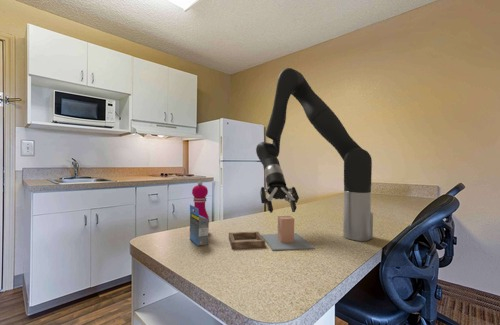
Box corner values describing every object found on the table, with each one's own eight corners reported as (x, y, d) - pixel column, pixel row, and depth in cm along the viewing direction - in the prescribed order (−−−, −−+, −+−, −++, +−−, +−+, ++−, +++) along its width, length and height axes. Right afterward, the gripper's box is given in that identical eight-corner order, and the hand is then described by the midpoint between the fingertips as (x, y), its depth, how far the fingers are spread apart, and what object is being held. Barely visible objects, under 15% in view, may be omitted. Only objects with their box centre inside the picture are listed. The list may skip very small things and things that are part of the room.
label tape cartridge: (209, 244, 82) (209, 207, 82) (197, 246, 80) (198, 208, 79) (199, 237, 89) (199, 203, 89) (188, 239, 87) (189, 204, 87)
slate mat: (296, 234, 95) (296, 233, 95) (314, 248, 79) (314, 247, 79) (261, 235, 92) (261, 234, 92) (272, 250, 77) (272, 249, 77)
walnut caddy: (258, 236, 91) (258, 231, 91) (265, 247, 80) (265, 241, 80) (228, 238, 89) (228, 232, 89) (231, 248, 78) (231, 242, 78)
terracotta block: (289, 238, 88) (289, 215, 88) (294, 242, 84) (294, 218, 84) (277, 238, 88) (277, 216, 88) (281, 242, 83) (281, 219, 83)
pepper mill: (212, 231, 96) (213, 181, 96) (199, 236, 90) (200, 182, 90) (199, 228, 100) (199, 180, 100) (185, 233, 94) (186, 181, 94)
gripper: (259, 171, 97) (265, 205, 85) (293, 171, 99) (304, 204, 88) (256, 183, 102) (262, 217, 91) (288, 183, 104) (298, 216, 93)
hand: (283, 211), depth 89 cm, fingers open, 8 cm apart
